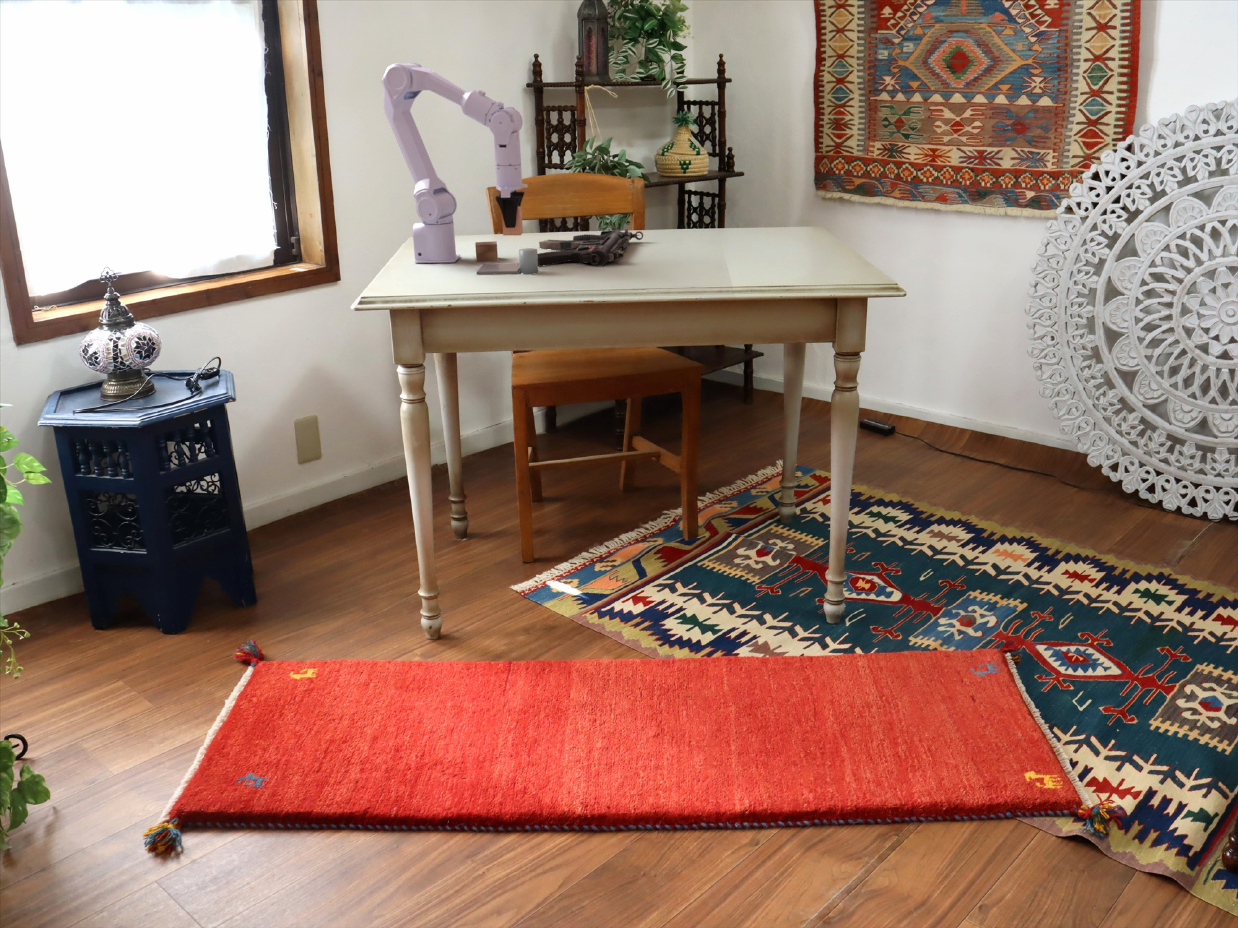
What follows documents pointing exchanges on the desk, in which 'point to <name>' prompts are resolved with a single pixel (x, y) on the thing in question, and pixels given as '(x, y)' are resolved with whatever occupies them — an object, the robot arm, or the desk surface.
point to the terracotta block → (518, 227)
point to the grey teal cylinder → (528, 261)
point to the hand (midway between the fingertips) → (511, 226)
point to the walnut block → (486, 251)
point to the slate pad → (499, 268)
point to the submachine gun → (587, 248)
